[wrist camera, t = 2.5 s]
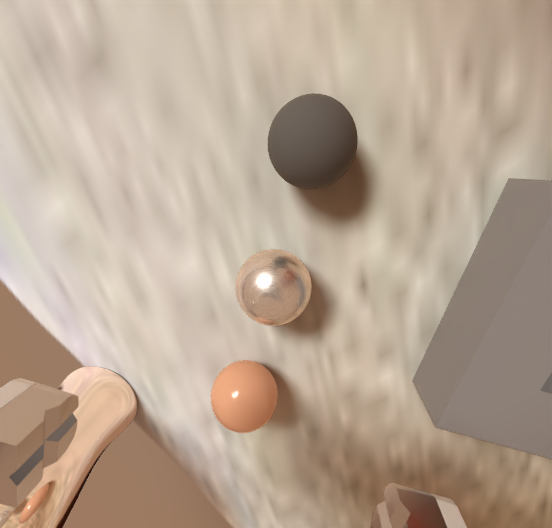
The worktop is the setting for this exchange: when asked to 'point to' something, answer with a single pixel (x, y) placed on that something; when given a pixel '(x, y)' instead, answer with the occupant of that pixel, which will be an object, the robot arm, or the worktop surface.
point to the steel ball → (273, 287)
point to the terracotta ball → (244, 396)
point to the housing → (499, 331)
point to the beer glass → (77, 448)
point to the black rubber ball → (312, 141)
